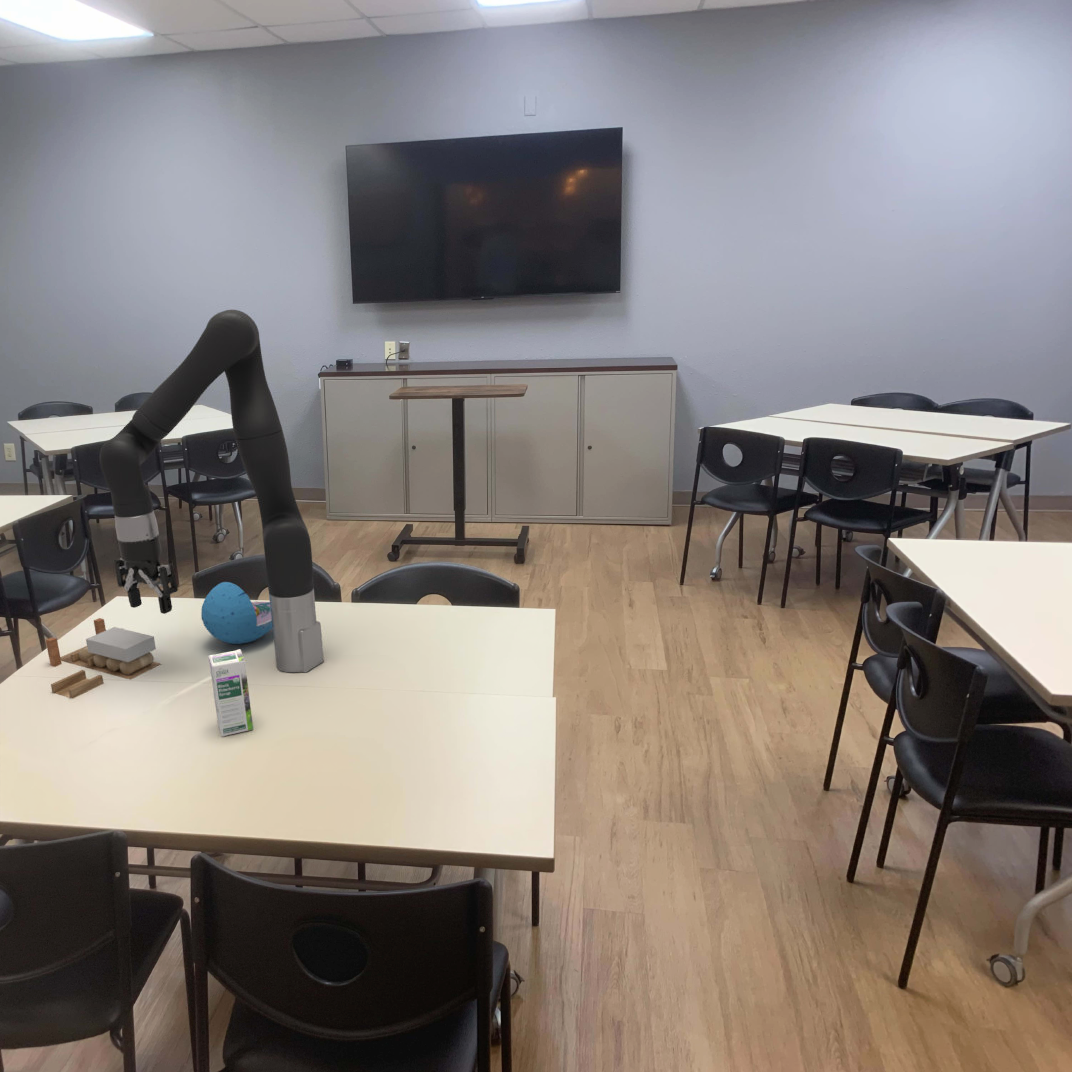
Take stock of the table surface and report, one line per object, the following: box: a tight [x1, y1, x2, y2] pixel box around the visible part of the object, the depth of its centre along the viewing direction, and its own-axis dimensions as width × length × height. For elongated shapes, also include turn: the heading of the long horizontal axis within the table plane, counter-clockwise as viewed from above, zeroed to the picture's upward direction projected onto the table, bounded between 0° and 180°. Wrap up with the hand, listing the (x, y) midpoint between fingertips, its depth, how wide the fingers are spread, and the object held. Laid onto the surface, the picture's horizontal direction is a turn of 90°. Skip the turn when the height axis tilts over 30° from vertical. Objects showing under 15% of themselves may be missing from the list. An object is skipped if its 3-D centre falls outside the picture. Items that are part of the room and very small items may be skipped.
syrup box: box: [208, 648, 254, 738], centre depth 150 cm, size 6×6×14 cm
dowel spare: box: [79, 647, 97, 663], centre depth 177 cm, size 3×5×3 cm, turn 155°
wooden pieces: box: [45, 617, 162, 699], centre depth 172 cm, size 23×21×7 cm
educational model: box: [201, 581, 273, 645], centre depth 187 cm, size 16×19×15 cm
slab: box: [85, 626, 156, 662], centre depth 172 cm, size 12×7×3 cm, turn 65°
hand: (151, 609), depth 166 cm, fingers open, 8 cm apart
